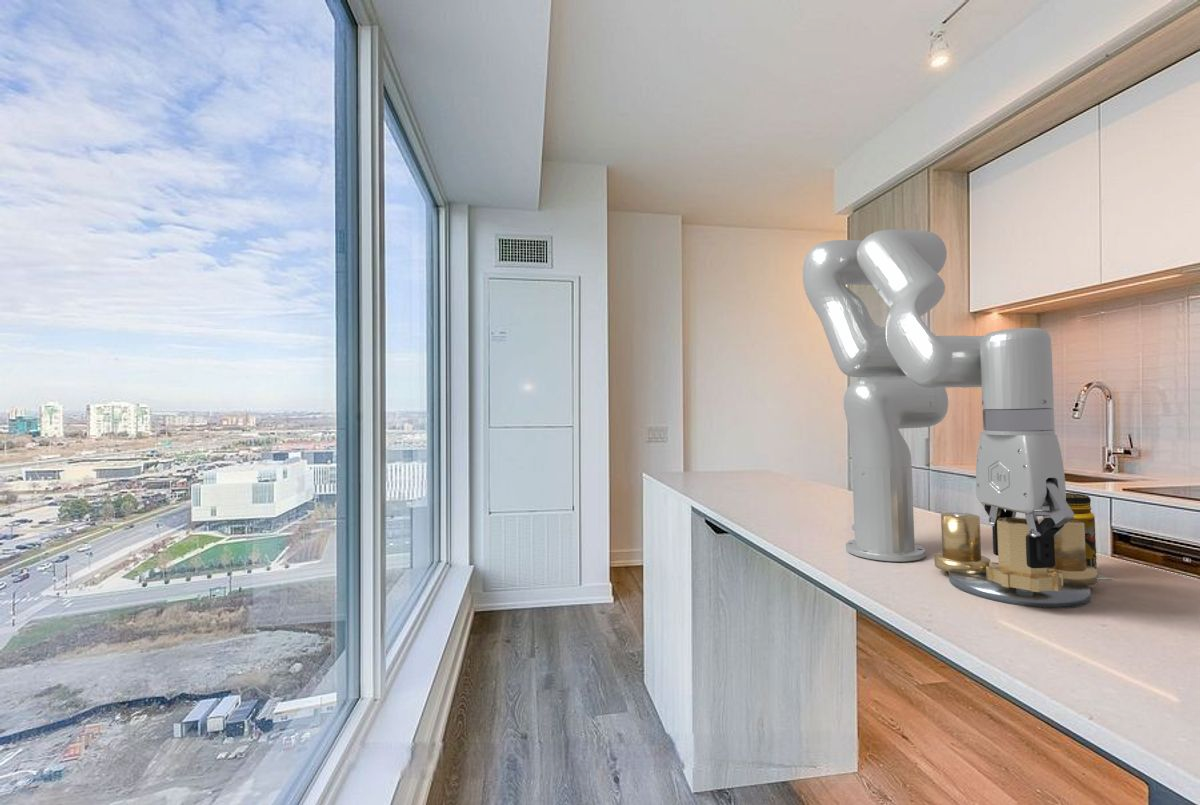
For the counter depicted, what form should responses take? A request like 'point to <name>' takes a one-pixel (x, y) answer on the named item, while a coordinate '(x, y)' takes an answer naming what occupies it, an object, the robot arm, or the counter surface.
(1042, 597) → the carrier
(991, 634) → the counter surface
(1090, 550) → the condiment
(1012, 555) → the gold hollow octagonal piece
